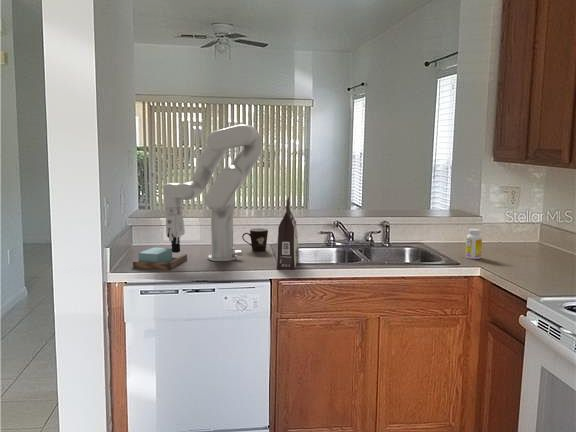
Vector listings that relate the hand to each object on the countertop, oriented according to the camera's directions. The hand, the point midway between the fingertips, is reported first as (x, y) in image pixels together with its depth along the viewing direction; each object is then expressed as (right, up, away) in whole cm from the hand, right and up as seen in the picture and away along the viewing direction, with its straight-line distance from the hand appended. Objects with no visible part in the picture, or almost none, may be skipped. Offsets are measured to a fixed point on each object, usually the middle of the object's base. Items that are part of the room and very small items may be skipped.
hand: (176, 252), depth 232 cm
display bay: (-3, -4, -12) cm, 13 cm away
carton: (-5, -4, -13) cm, 15 cm away
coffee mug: (+34, -1, +15) cm, 38 cm away
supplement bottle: (+133, -3, +3) cm, 133 cm away
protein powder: (+49, -5, -13) cm, 51 cm away
